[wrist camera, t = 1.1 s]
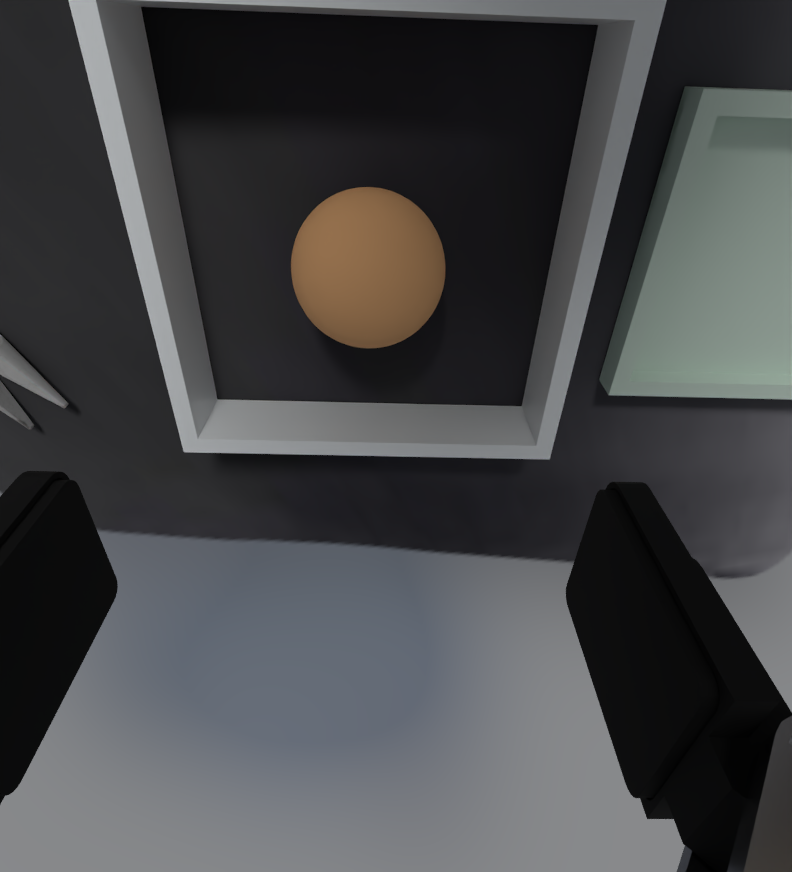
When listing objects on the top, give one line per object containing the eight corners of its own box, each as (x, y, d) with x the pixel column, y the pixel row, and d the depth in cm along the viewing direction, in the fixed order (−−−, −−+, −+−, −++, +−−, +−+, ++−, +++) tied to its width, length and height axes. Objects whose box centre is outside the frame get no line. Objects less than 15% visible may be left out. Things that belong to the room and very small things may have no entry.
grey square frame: (110, -25, 18) (58, -39, 15) (626, -4, 18) (670, -14, 16) (204, 411, 28) (183, 452, 25) (533, 419, 29) (549, 459, 26)
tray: (684, 86, 20) (703, 88, 19) (1011, 98, 20) (1052, 101, 19) (598, 380, 27) (608, 395, 26) (839, 385, 28) (860, 401, 26)
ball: (297, 170, 21) (269, 205, 17) (445, 175, 22) (461, 211, 17) (307, 311, 25) (286, 373, 20) (434, 314, 25) (444, 377, 20)
